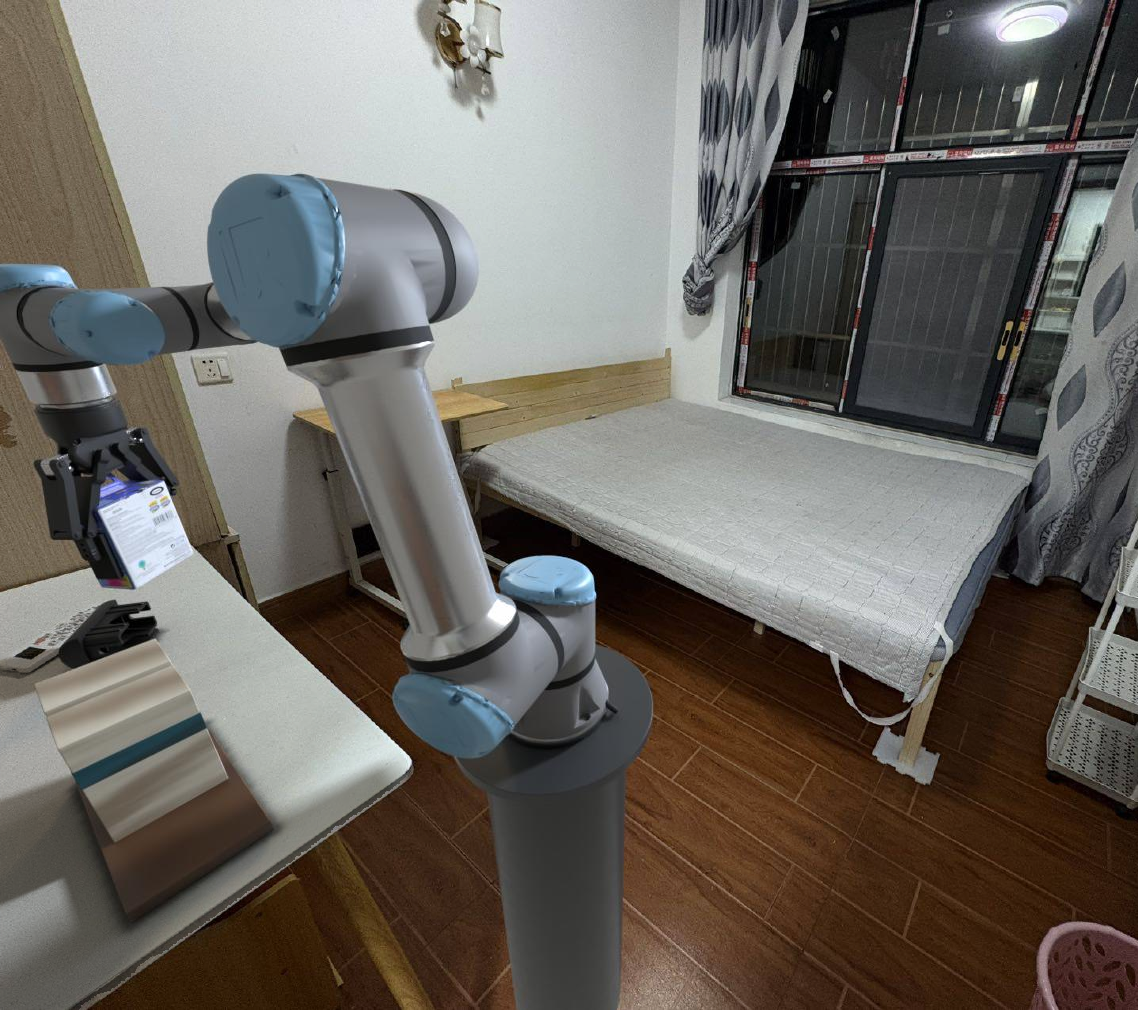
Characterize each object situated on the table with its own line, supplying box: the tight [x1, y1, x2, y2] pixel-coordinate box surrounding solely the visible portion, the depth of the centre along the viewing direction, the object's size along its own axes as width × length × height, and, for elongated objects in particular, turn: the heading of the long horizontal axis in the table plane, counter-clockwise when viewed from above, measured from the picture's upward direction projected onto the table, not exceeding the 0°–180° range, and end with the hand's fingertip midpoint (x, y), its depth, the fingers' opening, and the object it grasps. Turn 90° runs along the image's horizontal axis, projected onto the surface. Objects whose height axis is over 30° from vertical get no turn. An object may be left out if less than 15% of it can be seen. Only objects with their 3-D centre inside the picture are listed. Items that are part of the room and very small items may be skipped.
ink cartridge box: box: [81, 472, 194, 591], centre depth 75 cm, size 10×6×14 cm, turn 179°
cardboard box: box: [33, 638, 275, 923], centre depth 59 cm, size 23×12×16 cm, turn 53°
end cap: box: [57, 598, 160, 670], centre depth 83 cm, size 10×7×7 cm
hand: (143, 556), depth 77 cm, fingers closed on ink cartridge box, 10 cm apart
